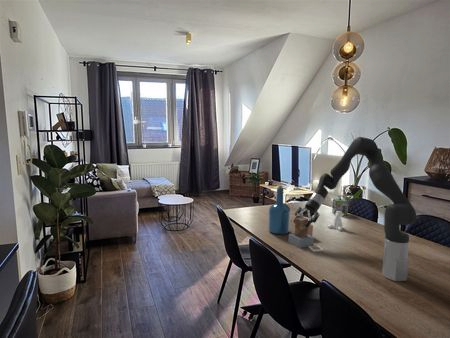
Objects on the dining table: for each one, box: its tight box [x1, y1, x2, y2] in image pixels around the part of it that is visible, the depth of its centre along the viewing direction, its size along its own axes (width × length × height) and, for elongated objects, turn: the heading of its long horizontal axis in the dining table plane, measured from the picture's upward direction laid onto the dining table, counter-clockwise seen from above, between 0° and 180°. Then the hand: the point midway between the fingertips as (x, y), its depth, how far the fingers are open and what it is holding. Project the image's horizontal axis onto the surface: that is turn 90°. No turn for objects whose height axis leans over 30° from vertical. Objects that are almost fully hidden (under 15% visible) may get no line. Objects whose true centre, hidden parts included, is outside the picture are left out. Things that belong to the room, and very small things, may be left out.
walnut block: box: [294, 217, 309, 238], centre depth 173 cm, size 5×5×10 cm
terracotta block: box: [307, 223, 314, 237], centre depth 185 cm, size 5×5×8 cm
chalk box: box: [331, 194, 349, 217], centre depth 235 cm, size 9×9×15 cm
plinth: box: [287, 232, 315, 249], centre depth 174 cm, size 10×10×5 cm
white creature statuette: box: [327, 211, 344, 232], centre depth 201 cm, size 10×9×12 cm
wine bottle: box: [267, 184, 291, 235], centre depth 192 cm, size 14×13×30 cm
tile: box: [307, 245, 324, 253], centre depth 166 cm, size 6×6×1 cm
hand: (300, 224), depth 172 cm, fingers open, 8 cm apart
